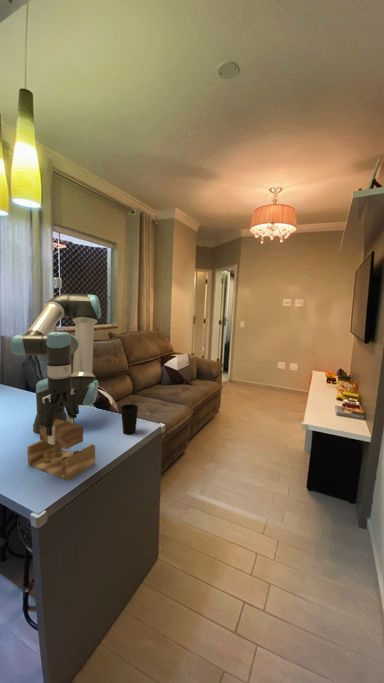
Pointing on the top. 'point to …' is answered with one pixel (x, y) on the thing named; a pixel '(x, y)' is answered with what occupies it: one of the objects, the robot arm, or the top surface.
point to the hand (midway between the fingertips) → (61, 439)
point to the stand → (60, 459)
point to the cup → (129, 418)
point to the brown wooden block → (64, 434)
